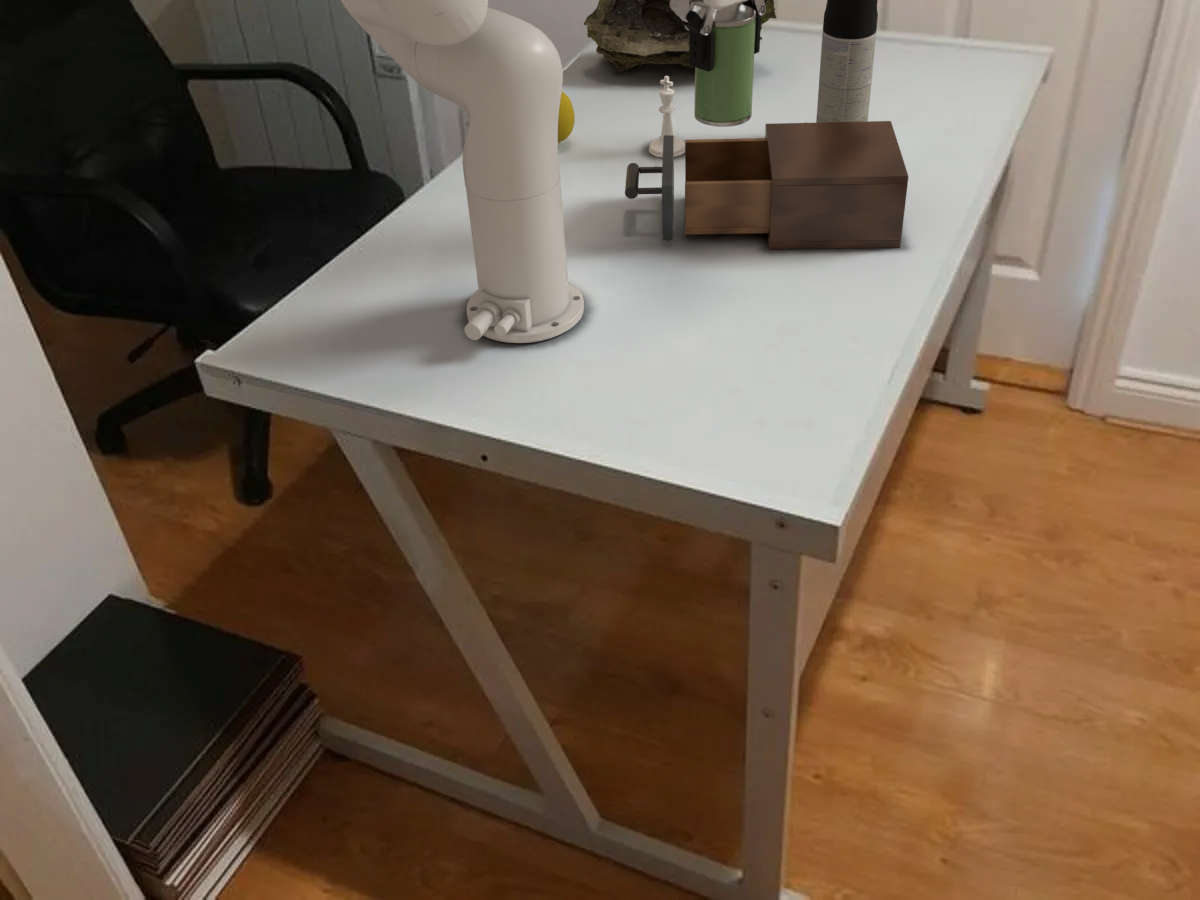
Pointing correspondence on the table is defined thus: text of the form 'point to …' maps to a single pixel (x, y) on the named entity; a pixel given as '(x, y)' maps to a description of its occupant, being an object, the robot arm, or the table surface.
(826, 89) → the spray can
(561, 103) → the lemon
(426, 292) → the table surface
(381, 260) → the table surface
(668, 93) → the chess piece
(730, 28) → the tin can
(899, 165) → the cabinet
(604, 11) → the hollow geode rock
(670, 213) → the drawer
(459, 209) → the table surface
